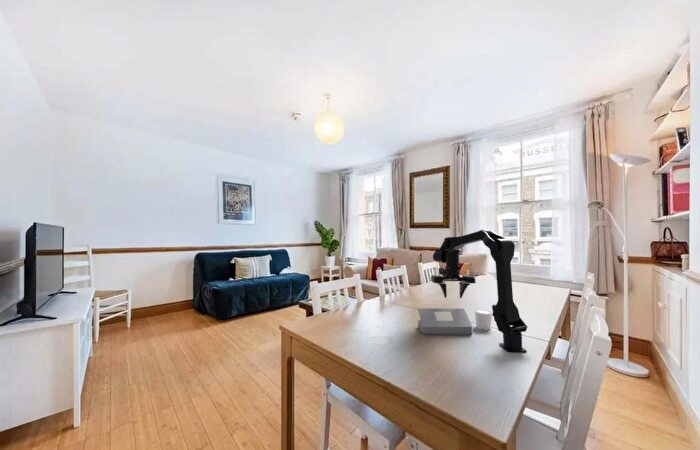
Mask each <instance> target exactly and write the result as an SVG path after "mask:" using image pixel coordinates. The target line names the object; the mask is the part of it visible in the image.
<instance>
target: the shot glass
mask: <svg viewBox="0 0 700 450" xmlns="http://www.w3.org/2000/svg"><path fill="white" fill-rule="evenodd" d="M492 314H493V312H491V311H490V310H485V309H476V310H474V316H475V326H476V328H477V329H480V330H485V331H489V330H491V325H492V317H493V316H492Z"/></svg>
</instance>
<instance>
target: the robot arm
mask: <svg viewBox="0 0 700 450" xmlns="http://www.w3.org/2000/svg"><path fill="white" fill-rule="evenodd" d="M478 242H482V243H483V245H484V246H485V247H487V248H488V249H489V253H490V256H491V258H492V259H493V261H494V263H495V276H496V290H497V302H496V303H495V304H492V305H491V310H492V317H493V320H494V322H495V324H496V327H497V331H498V332H501V333H502V337H503V338H502V339H503V340H502V342H499V344H498V345H499V346H500V347H502V348H503V349H504V350H506V351H507V353H527V351H528V350H527V349H525V348H524V347H523V334H522V333H525V332H527V330H528V326H527V323H525V322H524V320H523V319H522V318H521V317H520V311H519V308H518V307H517V305H516V303H515V302H514V296H513V295H514V294H513V293H514V292H513V281H512V266H511V262H512V261H513V258H514V256H515V248H516V245H515V243H514V241H513V240H511V239H508V238H506V237H504V236H503V235H500V234H498V233H495V232H494V231H492V230H491V229H480V230H478V231H477V230H476V231H475V232H470V233H466V234H463V235H461V236H450V237H449V236H448V237H445V238H443V242H442V244H441V245H440V248H436V249H435V251H434V252H433V254H432V258H433V259H432V260H433V261H434V262H435V263H440V264H445V266H444V268H443V267H439V268H438V275H435V274H434V275H431V277H430V281H431V283H432V284H433V283H434V284H437V285H439V287H440V288H441V291H442V293H443V297H444V298H445V299H447V295H448V294H447V283H446V282H458V284H459V299H462V297H463V296H464V293H465V291H466V290H467V288H468V287H469V286H471V284H476V277H474V276H472V275H470V274H469V275H466V274H465V275H464V274H463V275H462V276H461V275H460V270H461V266H460V256H462V255H463V254H464V253H463V252H461V251H460V249H462V248H464V247H465V246H466V245H469V244H473V243H478Z"/></svg>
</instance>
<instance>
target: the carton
mask: <svg viewBox="0 0 700 450" xmlns="http://www.w3.org/2000/svg"><path fill="white" fill-rule="evenodd" d="M417 327H418V329H419V330H420V332H421V333H422V335H424V336H425V335H426V336H427V335H428V336H429V335H432V336H433V335H434V336H435V335H436V336H437V335H438V336H441V335H442V336H443V335H444V336H445V335H447V336H449V335H450V336H451V335H452V336H472V335H473V327H472V328H458V327H422V323H421V319H420V320H419V319H418V320H417Z"/></svg>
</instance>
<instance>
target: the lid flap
mask: <svg viewBox="0 0 700 450" xmlns="http://www.w3.org/2000/svg"><path fill="white" fill-rule="evenodd" d="M417 312H418V316H419V319H420V320H421V323H422V327H458V328H472V329H473V325H472V323H471V320H470V319H469V316H468V314H467V313H466V310H465V308H419V307H418V308H417Z"/></svg>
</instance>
